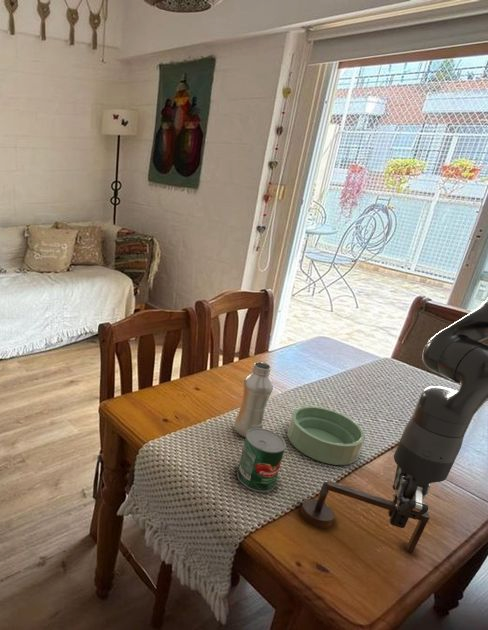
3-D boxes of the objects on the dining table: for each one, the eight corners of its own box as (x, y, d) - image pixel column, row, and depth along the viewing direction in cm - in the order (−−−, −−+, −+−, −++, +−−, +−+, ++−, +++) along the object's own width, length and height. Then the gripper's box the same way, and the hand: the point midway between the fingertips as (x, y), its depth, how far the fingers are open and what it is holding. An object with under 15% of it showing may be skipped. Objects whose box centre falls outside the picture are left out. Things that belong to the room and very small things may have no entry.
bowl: (355, 437, 112) (362, 417, 110) (359, 475, 100) (367, 454, 97) (288, 418, 119) (293, 399, 117) (285, 452, 106) (290, 432, 104)
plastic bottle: (239, 422, 117) (254, 356, 109) (265, 434, 112) (282, 366, 104) (228, 432, 112) (242, 364, 105) (254, 445, 108) (271, 375, 100)
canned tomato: (247, 461, 103) (256, 423, 98) (280, 480, 98) (292, 440, 93) (230, 478, 98) (239, 438, 93) (265, 498, 92) (276, 457, 88)
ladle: (299, 521, 87) (311, 486, 84) (300, 501, 92) (311, 468, 88) (414, 563, 79) (432, 526, 76) (409, 539, 84) (425, 504, 80)
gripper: (467, 480, 67) (427, 559, 74) (446, 431, 78) (413, 503, 85) (408, 462, 70) (375, 540, 77) (396, 418, 82) (368, 489, 88)
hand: (395, 520), depth 81 cm, fingers closed on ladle, 1 cm apart
